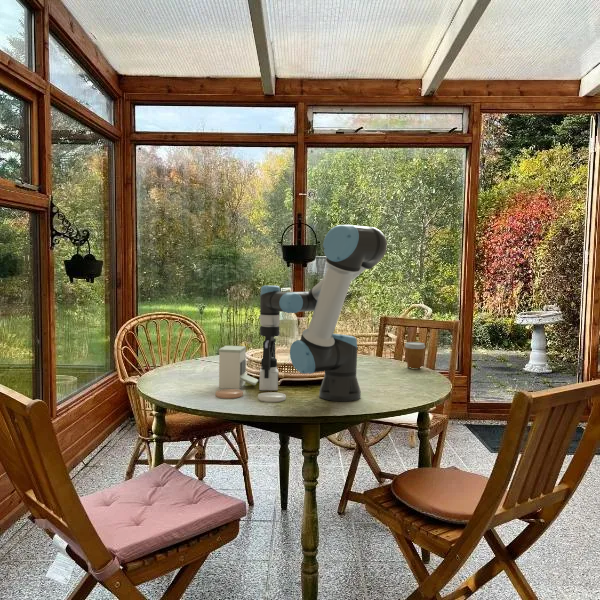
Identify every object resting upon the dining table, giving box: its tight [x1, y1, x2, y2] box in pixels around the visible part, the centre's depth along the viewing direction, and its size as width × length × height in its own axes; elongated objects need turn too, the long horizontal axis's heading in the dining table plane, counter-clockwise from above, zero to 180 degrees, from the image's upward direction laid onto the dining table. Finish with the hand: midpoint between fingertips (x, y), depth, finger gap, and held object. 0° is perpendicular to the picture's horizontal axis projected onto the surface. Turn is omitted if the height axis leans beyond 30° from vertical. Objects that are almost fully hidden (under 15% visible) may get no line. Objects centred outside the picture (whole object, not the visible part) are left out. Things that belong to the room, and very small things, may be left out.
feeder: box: [218, 345, 259, 390], centre depth 218 cm, size 14×10×15 cm
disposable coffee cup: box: [404, 341, 426, 368], centre depth 264 cm, size 10×10×12 cm
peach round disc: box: [215, 388, 244, 400], centre depth 203 cm, size 10×10×1 cm
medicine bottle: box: [258, 357, 279, 391], centre depth 215 cm, size 7×7×12 cm
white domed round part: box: [257, 391, 287, 403], centre depth 199 cm, size 10×10×1 cm
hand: (268, 383), depth 215 cm, fingers closed on medicine bottle, 8 cm apart
